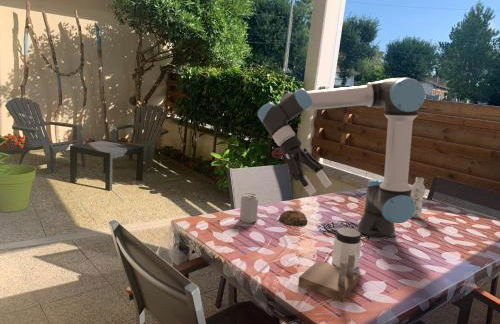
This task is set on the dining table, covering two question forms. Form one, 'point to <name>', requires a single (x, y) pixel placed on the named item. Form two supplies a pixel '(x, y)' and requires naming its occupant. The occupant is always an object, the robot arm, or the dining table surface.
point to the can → (249, 208)
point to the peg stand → (331, 279)
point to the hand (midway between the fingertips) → (321, 189)
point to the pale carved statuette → (418, 196)
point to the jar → (346, 246)
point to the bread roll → (293, 218)
